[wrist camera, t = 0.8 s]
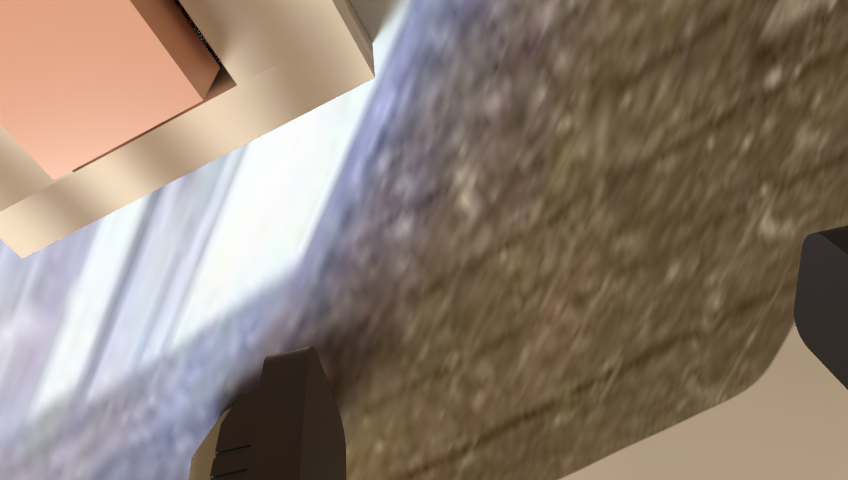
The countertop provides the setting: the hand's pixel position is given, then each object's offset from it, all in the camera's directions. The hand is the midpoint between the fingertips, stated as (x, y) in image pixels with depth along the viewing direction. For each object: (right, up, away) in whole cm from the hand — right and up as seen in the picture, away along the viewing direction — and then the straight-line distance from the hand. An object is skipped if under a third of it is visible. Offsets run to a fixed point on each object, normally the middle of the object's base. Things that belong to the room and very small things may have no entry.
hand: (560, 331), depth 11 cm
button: (-17, +11, +17) cm, 26 cm away
